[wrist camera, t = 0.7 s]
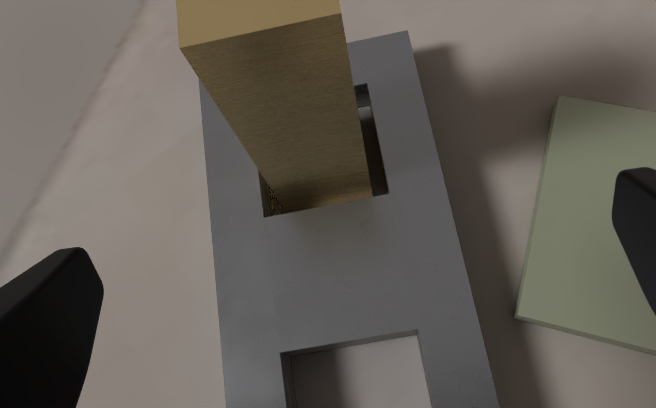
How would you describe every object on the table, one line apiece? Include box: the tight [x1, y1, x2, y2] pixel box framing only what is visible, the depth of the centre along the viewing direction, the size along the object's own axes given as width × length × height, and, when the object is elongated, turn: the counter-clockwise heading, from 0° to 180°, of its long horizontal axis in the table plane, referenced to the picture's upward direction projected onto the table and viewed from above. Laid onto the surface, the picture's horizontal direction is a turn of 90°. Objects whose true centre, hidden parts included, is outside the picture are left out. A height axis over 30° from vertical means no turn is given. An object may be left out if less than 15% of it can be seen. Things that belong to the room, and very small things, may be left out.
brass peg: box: [176, 0, 373, 213], centre depth 20 cm, size 4×4×13 cm
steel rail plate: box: [199, 30, 500, 408], centre depth 23 cm, size 21×10×2 cm, turn 9°
